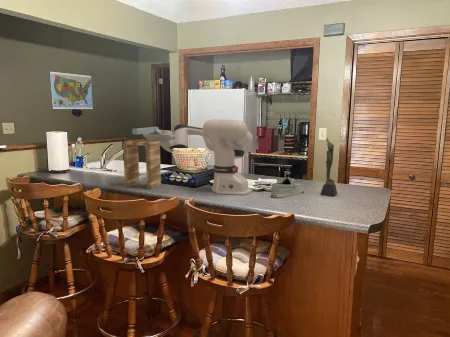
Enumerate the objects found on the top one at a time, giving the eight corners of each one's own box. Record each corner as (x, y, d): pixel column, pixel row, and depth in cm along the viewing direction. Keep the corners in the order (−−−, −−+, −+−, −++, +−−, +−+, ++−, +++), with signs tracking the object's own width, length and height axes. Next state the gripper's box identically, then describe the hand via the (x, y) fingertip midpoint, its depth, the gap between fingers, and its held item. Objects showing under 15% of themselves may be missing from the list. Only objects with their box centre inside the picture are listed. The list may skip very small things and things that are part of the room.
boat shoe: (307, 191, 199) (308, 175, 198) (284, 200, 181) (284, 183, 179) (292, 188, 205) (293, 173, 204) (268, 197, 187) (268, 180, 185)
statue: (334, 196, 187) (337, 139, 181) (320, 195, 190) (322, 138, 185) (337, 193, 193) (340, 138, 188) (323, 192, 196) (326, 137, 191)
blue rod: (158, 131, 227) (158, 126, 226) (136, 134, 206) (136, 129, 205) (154, 131, 228) (154, 126, 228) (132, 134, 207) (132, 129, 206)
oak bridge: (160, 185, 212) (159, 139, 207) (151, 189, 203) (149, 141, 198) (135, 183, 218) (133, 138, 213) (125, 186, 209) (122, 140, 204)
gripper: (175, 143, 230) (165, 134, 218) (148, 142, 238) (137, 133, 225) (177, 134, 232) (168, 124, 220) (150, 133, 240) (139, 124, 227)
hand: (152, 129), depth 223 cm, fingers closed on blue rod, 3 cm apart
